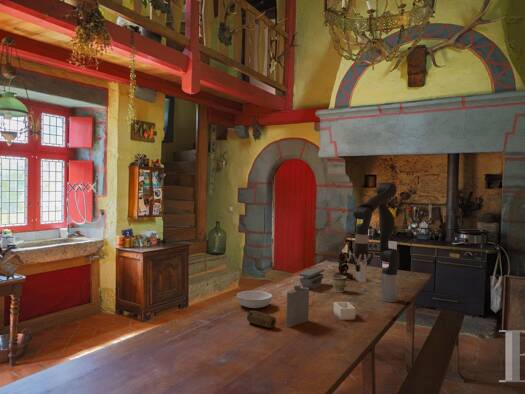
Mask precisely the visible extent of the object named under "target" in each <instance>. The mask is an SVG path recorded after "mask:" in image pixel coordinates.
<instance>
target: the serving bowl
mask: <svg viewBox="0 0 525 394" xmlns="http://www.w3.org/2000/svg"><path fill="white" fill-rule="evenodd" d="M236 299H237V302H238V303H239V304H240V306H243V307H245V308H249V309H261V308H264V307H267V306H268V305H269V304H270V303H271V301H272V299H273V294H272V293H270V292H267V291H262V290H243V291H239V292H238V293H237V294H236Z"/></svg>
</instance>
